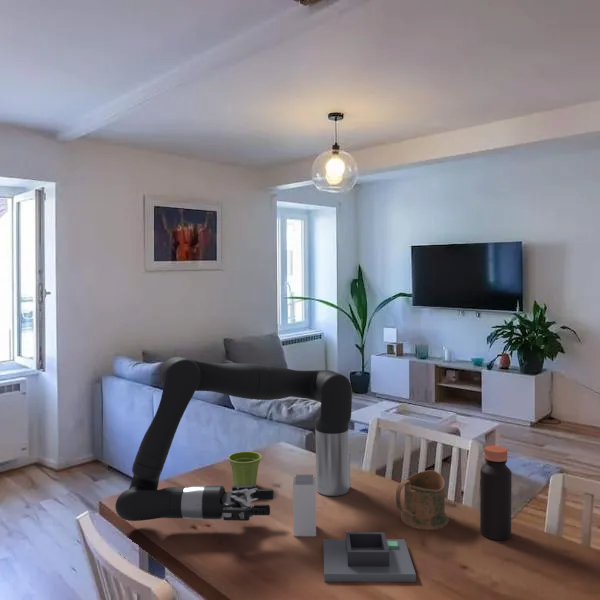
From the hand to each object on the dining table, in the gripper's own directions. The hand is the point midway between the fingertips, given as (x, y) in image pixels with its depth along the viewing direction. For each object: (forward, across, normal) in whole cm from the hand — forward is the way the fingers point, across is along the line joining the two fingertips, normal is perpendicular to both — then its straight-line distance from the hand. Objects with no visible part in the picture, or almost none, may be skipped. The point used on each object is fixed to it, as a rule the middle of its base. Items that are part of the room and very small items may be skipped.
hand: (271, 501), depth 130 cm
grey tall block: (+8, 0, +7) cm, 10 cm away
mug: (+35, +4, +7) cm, 36 cm away
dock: (+21, -14, +7) cm, 26 cm away
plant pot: (-10, +27, +7) cm, 30 cm away
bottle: (+52, -2, +7) cm, 52 cm away
